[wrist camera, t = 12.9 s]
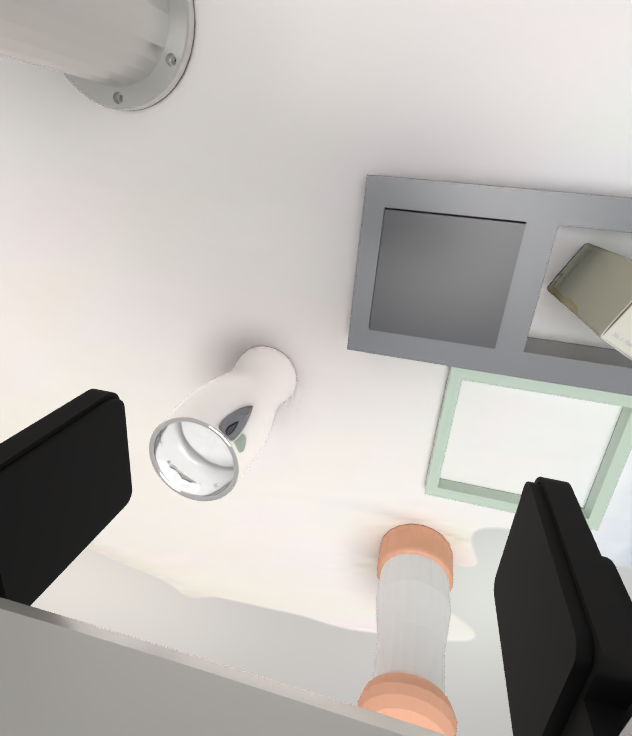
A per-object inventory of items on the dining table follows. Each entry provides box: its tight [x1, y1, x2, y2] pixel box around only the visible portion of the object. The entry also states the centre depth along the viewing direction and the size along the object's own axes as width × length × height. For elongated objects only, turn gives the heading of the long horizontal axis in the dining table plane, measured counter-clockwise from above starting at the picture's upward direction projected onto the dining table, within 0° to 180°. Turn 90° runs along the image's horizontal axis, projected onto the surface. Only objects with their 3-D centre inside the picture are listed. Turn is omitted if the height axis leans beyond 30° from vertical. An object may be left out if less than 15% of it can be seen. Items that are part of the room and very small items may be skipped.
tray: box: [425, 366, 632, 531], centre depth 40 cm, size 13×15×2 cm
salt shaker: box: [358, 524, 457, 736], centre depth 40 cm, size 7×7×19 cm
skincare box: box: [548, 243, 632, 360], centre depth 30 cm, size 6×4×12 cm
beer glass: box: [149, 346, 296, 501], centre depth 38 cm, size 7×7×15 cm
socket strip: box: [347, 175, 632, 395], centre depth 34 cm, size 13×24×5 cm, turn 85°
